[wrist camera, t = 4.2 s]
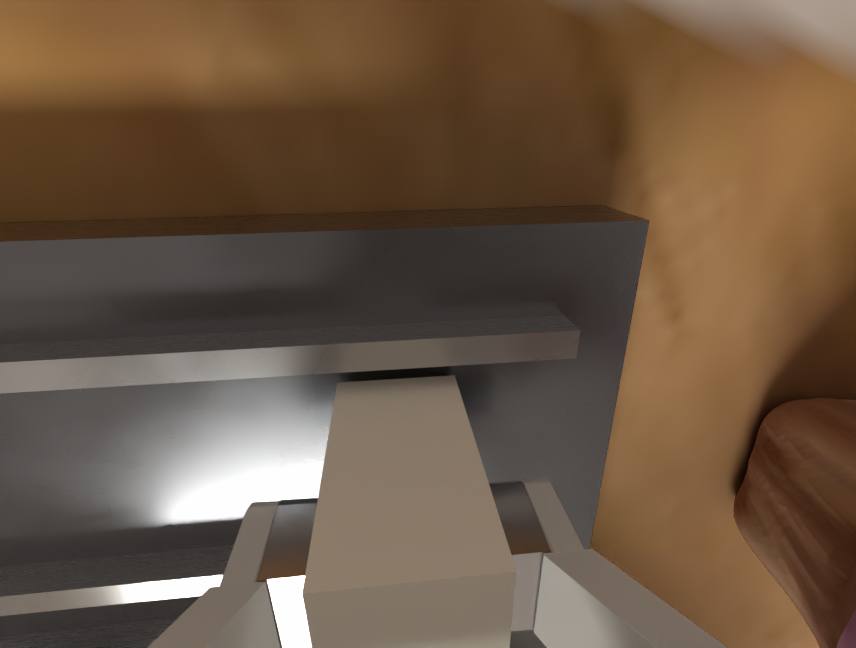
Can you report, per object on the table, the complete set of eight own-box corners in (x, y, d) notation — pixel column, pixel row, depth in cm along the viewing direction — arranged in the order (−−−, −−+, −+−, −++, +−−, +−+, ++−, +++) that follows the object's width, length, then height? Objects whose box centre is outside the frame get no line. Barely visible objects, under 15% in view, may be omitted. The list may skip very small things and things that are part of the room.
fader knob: (456, 375, 9) (526, 586, 5) (454, 519, 11) (505, 774, 6) (334, 382, 9) (294, 612, 5) (350, 528, 11) (331, 801, 6)
